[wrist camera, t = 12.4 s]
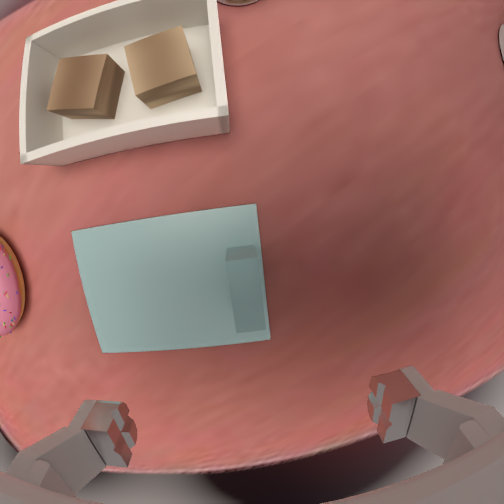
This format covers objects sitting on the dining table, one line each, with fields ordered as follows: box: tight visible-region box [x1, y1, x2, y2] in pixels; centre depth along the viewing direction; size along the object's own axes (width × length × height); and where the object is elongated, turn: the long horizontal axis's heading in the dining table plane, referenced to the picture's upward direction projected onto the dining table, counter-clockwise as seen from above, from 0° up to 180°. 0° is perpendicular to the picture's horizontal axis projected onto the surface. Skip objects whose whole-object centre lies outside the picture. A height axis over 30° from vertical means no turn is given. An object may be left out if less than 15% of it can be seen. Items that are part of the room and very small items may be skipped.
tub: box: [19, 0, 230, 166], centre depth 17 cm, size 14×10×6 cm
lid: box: [72, 203, 271, 353], centre depth 22 cm, size 15×11×5 cm
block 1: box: [47, 54, 125, 119], centre depth 18 cm, size 4×4×4 cm
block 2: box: [124, 25, 202, 109], centre depth 18 cm, size 4×4×4 cm
